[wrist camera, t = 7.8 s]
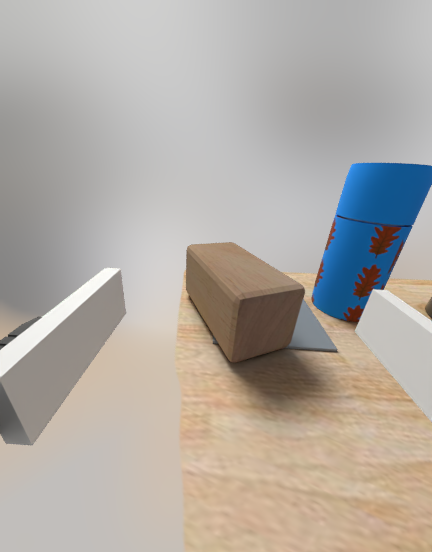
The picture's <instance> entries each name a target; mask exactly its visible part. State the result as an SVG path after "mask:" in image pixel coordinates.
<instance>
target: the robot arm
mask: <svg viewBox="0 0 432 552" xmlns="http://www.w3.org/2000/svg"><path fill="white" fill-rule="evenodd" d="M425 310H426V312H427V313H428V314H429V316H431V317H432V297H431V299H430V300H429V302H428V304H427V305H426V307H425ZM125 314H126V309H125V301H124V293H123V285H122V277H121V270H120V269H114V268H105V269H104V270H102V271H101V272H100V273H98V274H97V275H96V276H95V277H93V278H92V279H91V280H89V281H88V282H87V283H86V284H84V285H83V286H82V287H80V288H79V289H78V290H77V291H75V292H74V293H73V294H72V295H70V296H69V297H68V298H66V299H65V300H64V301H63V302H61V303H60V304H59V305H57V306H56V307H55V308H53V309H52V310H51V311H50V312H48V313H47V314H46V315H44V316H43V317H37V318H35V319H33V320H31V321H29V322H26V323H24V324H22V325H21V326H19V327H18V328H17V329H15V330H14V331H13V332H11V333H10V334H8V337H4V338H3V339H2V340H0V434H1V436H2V438H3V439H4V441H5V443H7V444H20V445H33V444H34V442H35V441H36V439H37V438H38V437H39V435H40V434H41V433H42V431H43V429H44V428H45V427H46V425H47V424H48V423H49V421H50V420H51V418H52V417H53V416H54V414H55V413H56V411H57V410H58V409H59V407H60V406H61V404H62V403H63V401H64V400H65V399H66V397H67V396H68V394H69V393H70V391H71V390H72V389H73V387H74V386H75V385H76V383H77V382H78V380H79V379H80V378H81V376H82V375H83V373H84V372H85V370H86V369H87V368H88V366H89V365H90V363H91V362H92V360H93V359H94V358H95V356H96V355H97V354H98V352H99V351H100V349H101V348H102V346H103V345H104V344H105V342H106V341H107V339H108V338H109V337H110V335H111V334H112V332H113V331H114V330H115V328H116V327H117V325H118V324H119V323H120V321H121V320H122V318H123V317H124V315H125ZM355 333H356V334H357V335H358V336H359V337H360V338H361V340H362V341H363V342H364V343H365V344H366V346H367V347H368V348H369V349H370V350H371V351H372V353H373V354H374V355H375V356H376V357H377V358H378V360H379V361H380V362H381V363H382V364H383V365H384V367H385V368H386V369H387V370H388V371H389V373H390V374H391V375H392V376H393V377H394V378H395V380H396V381H397V382H398V383H399V384H400V385H401V387H402V388H403V389H404V390H405V391H406V393H407V394H408V395H409V396H410V397H411V398H412V400H413V401H414V402H415V403H416V404H417V405H418V407H419V408H420V409H421V410H422V411H423V413H424V414H425V415H426V416H427V417H428V418H429V420H430V421H431V422H432V321H431V320H430V319H428V318H427V317H425V316H424V315H422V314H421V313H420V312H418V311H417V310H415V309H414V308H412V307H411V306H409V305H408V304H406V303H405V302H404V301H402V300H401V299H399V298H398V297H396V296H395V295H393V294H392V293H391V292H389V291H388V290H376V289H373V290H372V293H371V295H370V297H369V299H368V302H367V304H366V306H365V309H364V311H363V313H362V316H361V318H360V320H359V322H358V325H357V327H356V329H355Z"/></svg>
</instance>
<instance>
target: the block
mask: <svg viewBox="0 0 432 552" xmlns="http://www.w3.org/2000/svg"><path fill="white" fill-rule="evenodd" d="M186 264H187V265H186V290H187V293H188V294H189V296H190V297H191V299H192V301H193V302H194V304H195V306H196V307H197V309H198V311H199V312H200V314H201V316H202V317H203V319H204V320H205V322H206V324H207V325H208V327H209V329H210V330H211V332H212V334H213V335H214V337H215V339H216V340H217V342H218V343H219V345H220V347H221V348H222V350H223V352H224V353H225V355H226V357H227V358H228V360H229V361H231V362H239V361H242V360H246V359H249V358H252V357H256V356H259V355H262V354H265V353H269V352H272V351H275V350H278V349H282V348H285V347H287V346H288V345H289V344H290V343H291V340H292V336H293V333H294V329H295V326H296V322H297V319H298V315H299V312H300V308H301V304H302V301H303V297H304V294H305V289H304V287H303V286H302V285H301V284H299V283H298V282H296V281H295V280H293V279H291V278H290V277H288V276H286V275H285V274H283V273H282V272H280V271H278V270H277V269H275V268H273V267H272V266H270V265H269V264H267V263H265V262H264V261H262V260H261V259H259V258H257V257H256V256H254V255H252V254H251V253H249V252H248V251H246V250H244V249H243V248H241V247H240V246H238V245H236V244H234V243H232V242H229V243H211V244H195V245H190V246H188V248H187V259H186Z"/></svg>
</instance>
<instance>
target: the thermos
mask: <svg viewBox="0 0 432 552" xmlns="http://www.w3.org/2000/svg"><path fill="white" fill-rule="evenodd" d="M431 185H432V166H429V165H419V164H402V163H356V164H352V165H351V168H350V170H349V173H348V175H347V178H346V181H345V184H344V188H343V191H342V194H341V198H340V201H339V204H338V208H337V211H336V214H337V215H335V218H334V221H333V224H332V228H331V231H330V234H329V238H328V241H327V245H326V248H325V251H324V255H323V258H322V262H321V265H320V268H319V271H318V275H317V278H316V281H315V286H314V290H313V294H312V302H313V304H314V305H315V306H316V307H317V308H318V309H319V310H321V311H322V312H324V313H326V314H328V315H330V316H332V317H335V318H338V319H342V320H345V321H353V322H359V320H360V318H361V316H362V313H363V311H364V309H365V306H366V304H367V302H368V299H369V297H370V295H371V293H372V290H373V289H376V290H384V288H385V285H386V283H387V281H388V279H389V277H390V274H391V272H392V270H393V268H394V266H395V264H396V261H397V259H398V257H399V255H400V253H401V250H402V248H403V246H404V244H405V242H406V240H407V237H408V235H409V233H410V231H411V229H412V225H413V224H414V222H415V220H416V218H417V215H418V213H419V211H420V209H421V207H422V204H423V202H424V200H425V198H426V196H427V194H428V191H429V189H430V187H431Z"/></svg>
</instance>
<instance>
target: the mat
mask: <svg viewBox="0 0 432 552" xmlns="http://www.w3.org/2000/svg"><path fill="white" fill-rule="evenodd" d="M213 343H215V344H219V343H218V342H217V340H216V339H215V337H214V335H213ZM285 348H290V349H306V350H321V351H336V352H337V348H336V347H335V345H334V344H333V342H332V341H331V339H330V338H329V336H328V335H327V333H326V332H325V330H324V329H323V327H322V326H321V324H320V323H319V321H318V320H317V318H316V317H315V316H314V314H313V313H312V311H311V310H310V308H309V307H308V305H307V304H306V302H305V301H304V299H303V301H302V304H301V308H300V312H299V315H298V319H297V322H296V326H295V329H294V333H293V336H292V340H291V343H290V344H289V345H288V346H287V347H285Z"/></svg>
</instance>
